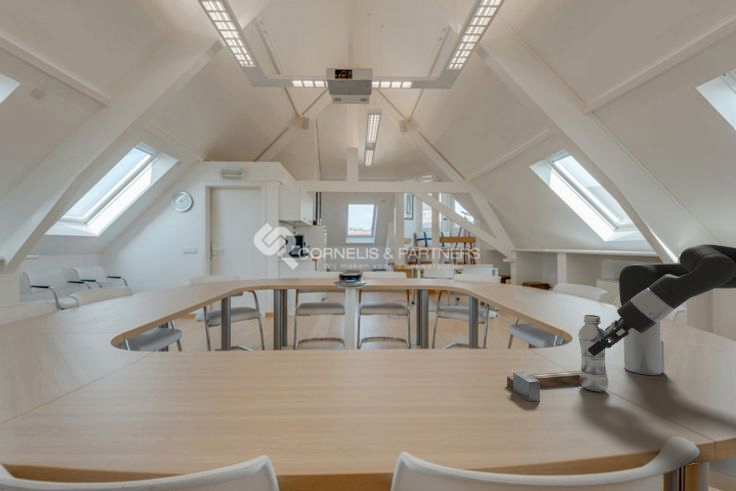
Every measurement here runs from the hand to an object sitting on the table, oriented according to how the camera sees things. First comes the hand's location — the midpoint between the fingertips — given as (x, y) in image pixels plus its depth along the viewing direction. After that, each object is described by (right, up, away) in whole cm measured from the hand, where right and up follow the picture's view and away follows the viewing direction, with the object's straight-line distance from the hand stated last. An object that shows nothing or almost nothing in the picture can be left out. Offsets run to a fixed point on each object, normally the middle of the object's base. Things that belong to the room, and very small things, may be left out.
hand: (592, 349), depth 96 cm
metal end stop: (-19, -11, -3) cm, 23 cm away
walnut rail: (-7, -11, +5) cm, 14 cm away
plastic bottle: (+1, -11, 0) cm, 11 cm away
